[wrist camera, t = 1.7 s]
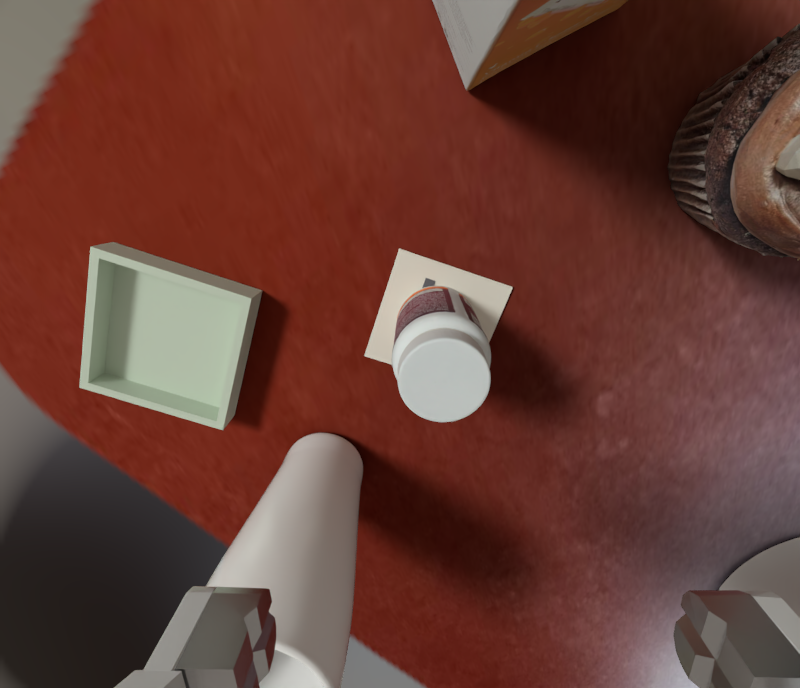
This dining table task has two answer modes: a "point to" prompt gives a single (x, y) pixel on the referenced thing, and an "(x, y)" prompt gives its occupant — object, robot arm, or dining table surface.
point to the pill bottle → (441, 355)
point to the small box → (510, 30)
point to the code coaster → (426, 272)
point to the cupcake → (746, 152)
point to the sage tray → (166, 334)
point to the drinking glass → (304, 559)
